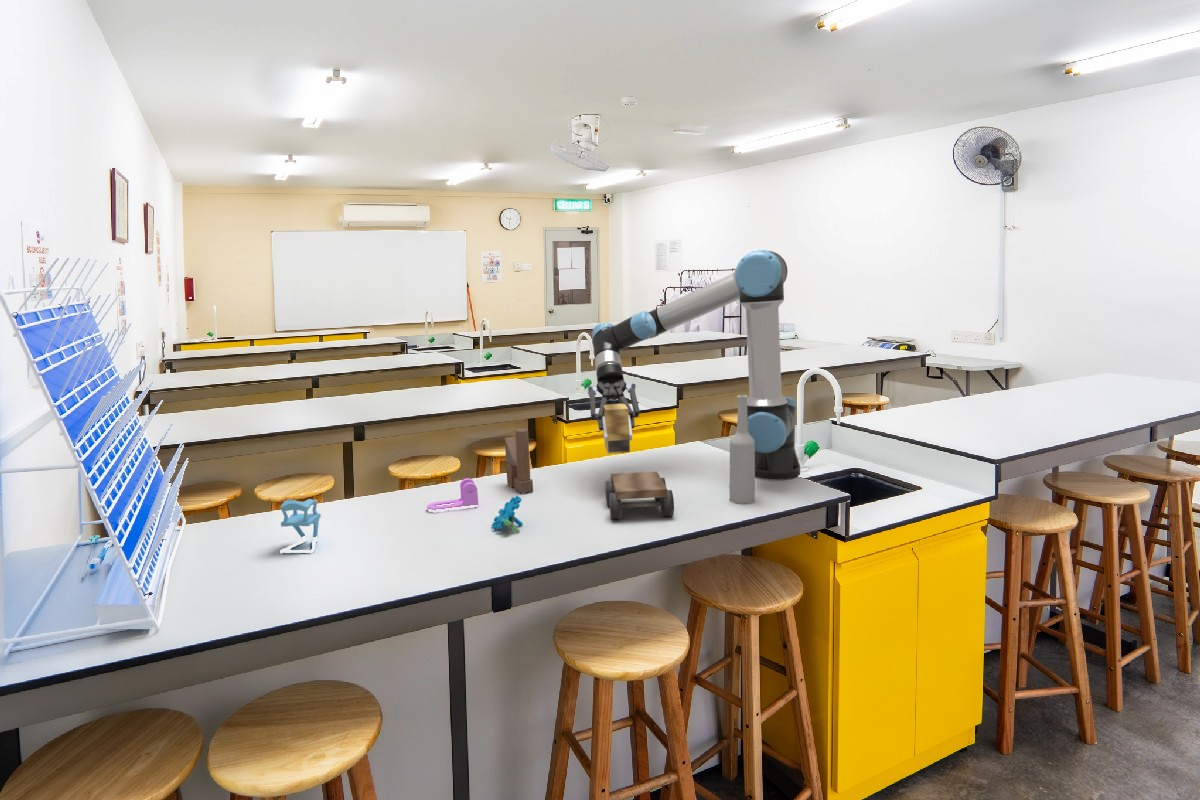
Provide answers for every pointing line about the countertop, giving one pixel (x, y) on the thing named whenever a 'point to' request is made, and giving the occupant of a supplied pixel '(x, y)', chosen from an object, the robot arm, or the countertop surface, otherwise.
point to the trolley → (638, 492)
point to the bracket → (467, 496)
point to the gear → (508, 515)
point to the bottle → (742, 459)
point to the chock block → (617, 428)
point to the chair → (300, 515)
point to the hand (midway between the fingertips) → (618, 438)
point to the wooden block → (518, 461)
